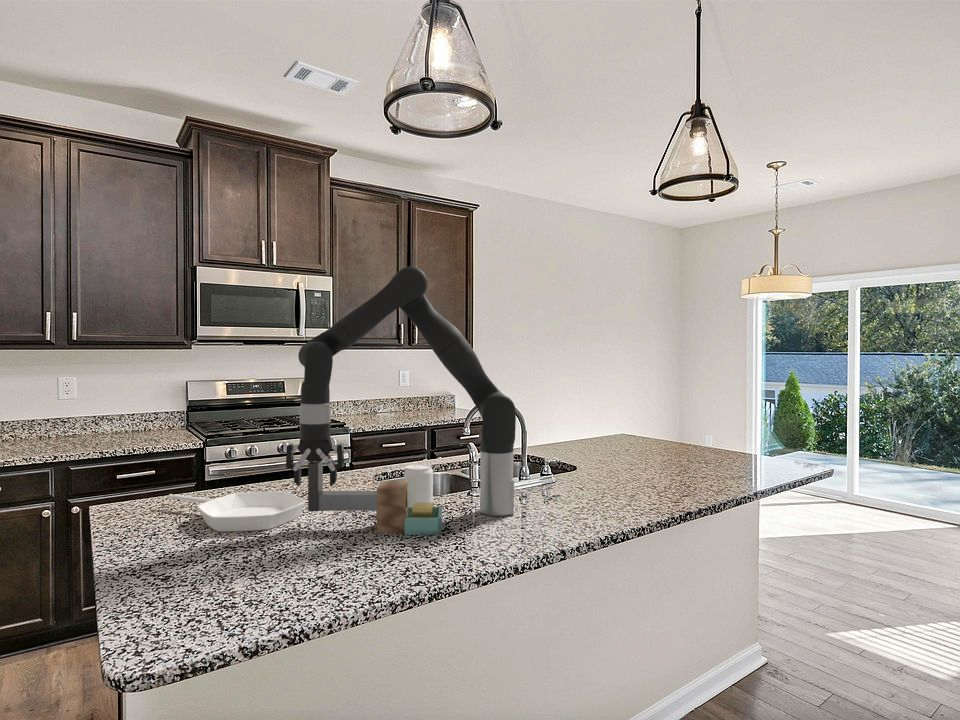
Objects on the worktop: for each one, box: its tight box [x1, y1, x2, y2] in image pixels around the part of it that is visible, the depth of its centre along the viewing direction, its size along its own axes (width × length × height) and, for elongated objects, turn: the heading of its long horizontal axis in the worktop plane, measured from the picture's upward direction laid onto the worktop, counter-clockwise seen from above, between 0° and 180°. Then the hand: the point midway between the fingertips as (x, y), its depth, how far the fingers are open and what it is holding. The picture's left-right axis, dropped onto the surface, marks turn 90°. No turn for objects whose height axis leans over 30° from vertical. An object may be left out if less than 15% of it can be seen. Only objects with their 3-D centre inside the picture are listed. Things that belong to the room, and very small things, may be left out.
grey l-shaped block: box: [307, 461, 377, 512], centre depth 152 cm, size 21×5×12 cm, turn 92°
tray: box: [403, 505, 443, 536], centre depth 153 cm, size 9×11×4 cm
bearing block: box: [376, 480, 408, 534], centre depth 152 cm, size 7×8×11 cm
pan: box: [167, 490, 306, 533], centre depth 162 cm, size 28×41×4 cm
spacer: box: [412, 502, 435, 518], centre depth 153 cm, size 5×5×5 cm
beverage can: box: [403, 463, 434, 506], centre depth 171 cm, size 8×8×12 cm
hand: (315, 485), depth 151 cm, fingers open, 8 cm apart
